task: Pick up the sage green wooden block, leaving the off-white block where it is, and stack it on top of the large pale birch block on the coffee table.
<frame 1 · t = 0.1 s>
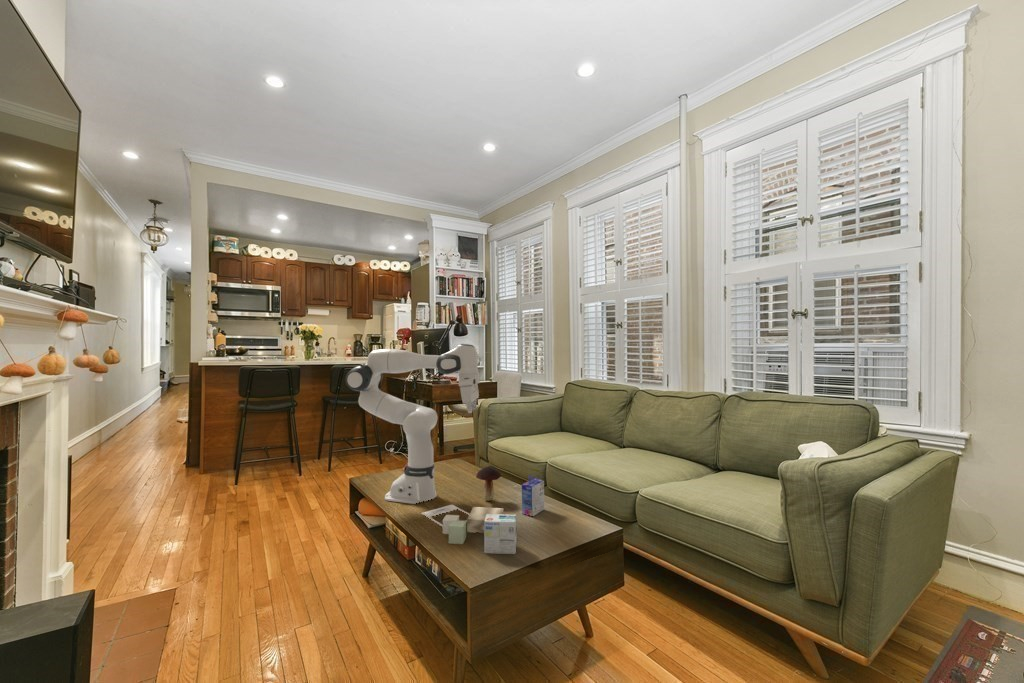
hand: (472, 411, 192), 39 cm above the table, tool pointing down, fingers open, 8 cm apart
light bulb box: (500, 550, 145), on the table
sage block: (457, 540, 151), on the table
ink cartridge box: (533, 512, 178), on the table
decorative mushroom: (488, 501, 190), on the table
off-white block: (450, 531, 159), on the table
birch block: (485, 526, 164), on the table
photo frame: (448, 518, 172), on the table
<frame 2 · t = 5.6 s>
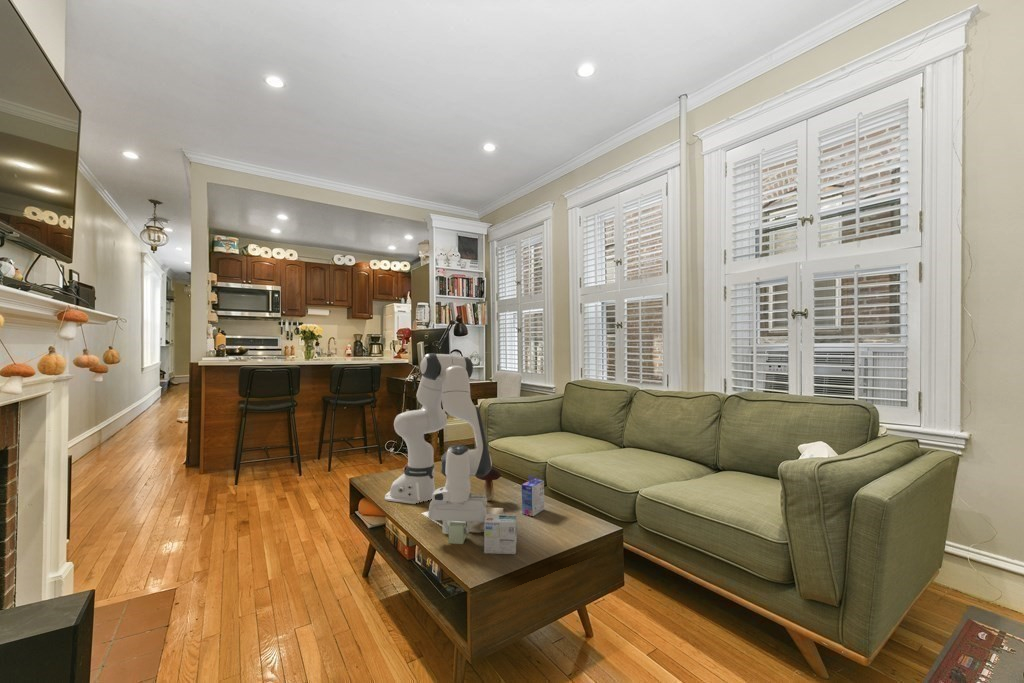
hand: (457, 532, 151), 3 cm above the table, tool pointing down, fingers closed on sage block, 5 cm apart
sage block: (457, 540, 151), on the table, touching gripper
everything else where it was.
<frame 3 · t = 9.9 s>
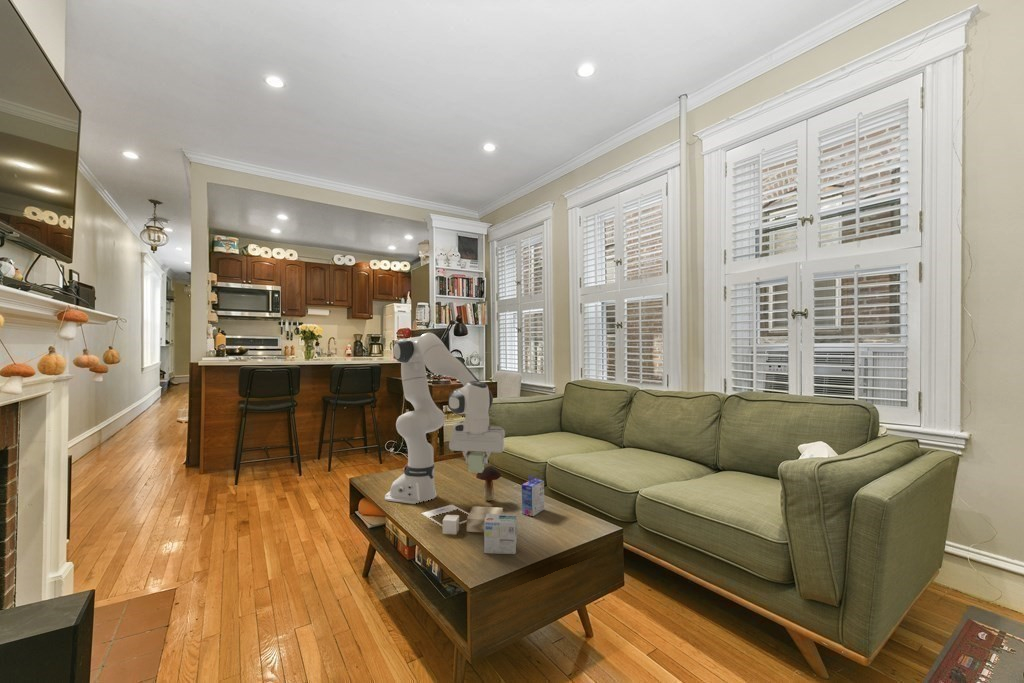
hand: (476, 463, 159), 25 cm above the table, tool pointing down, fingers closed on sage block, 5 cm apart
sage block: (476, 470, 159), point 22 cm above the table, touching gripper
everything else where it was.
when the fingers open (9 cm above the table, at t = 14.3 s): sage block drops 2 cm, resting on birch block.
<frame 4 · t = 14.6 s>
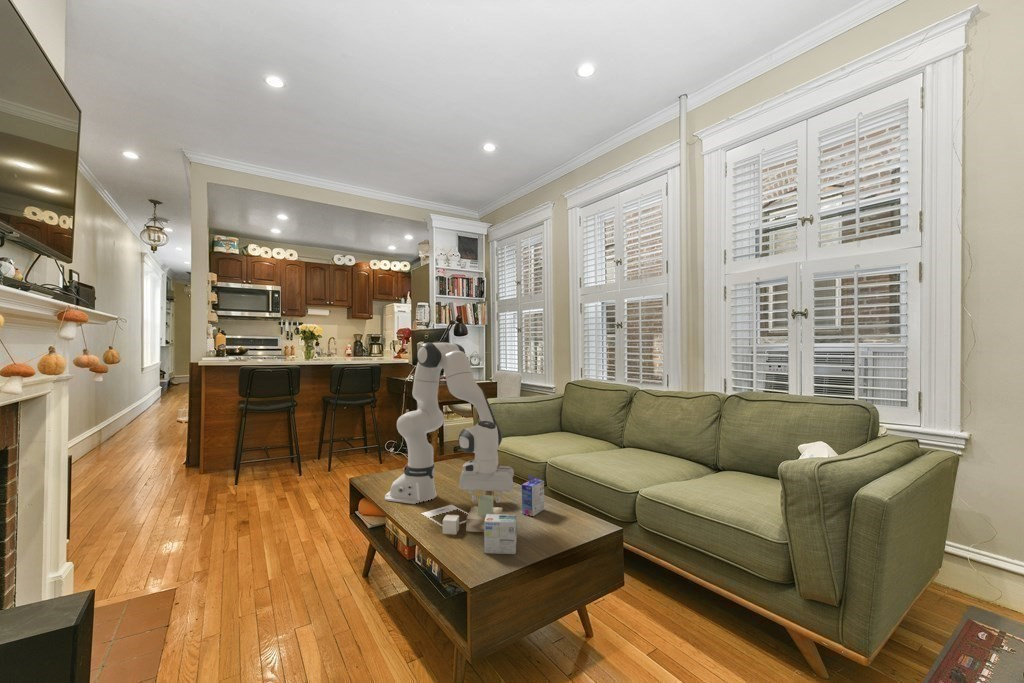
hand: (486, 501, 164), 9 cm above the table, tool pointing down, fingers open, 8 cm apart
sage block: (485, 513, 164), point 5 cm above the table, touching birch block
birch block: (484, 526, 164), on the table, touching sage block
everything else where it was.
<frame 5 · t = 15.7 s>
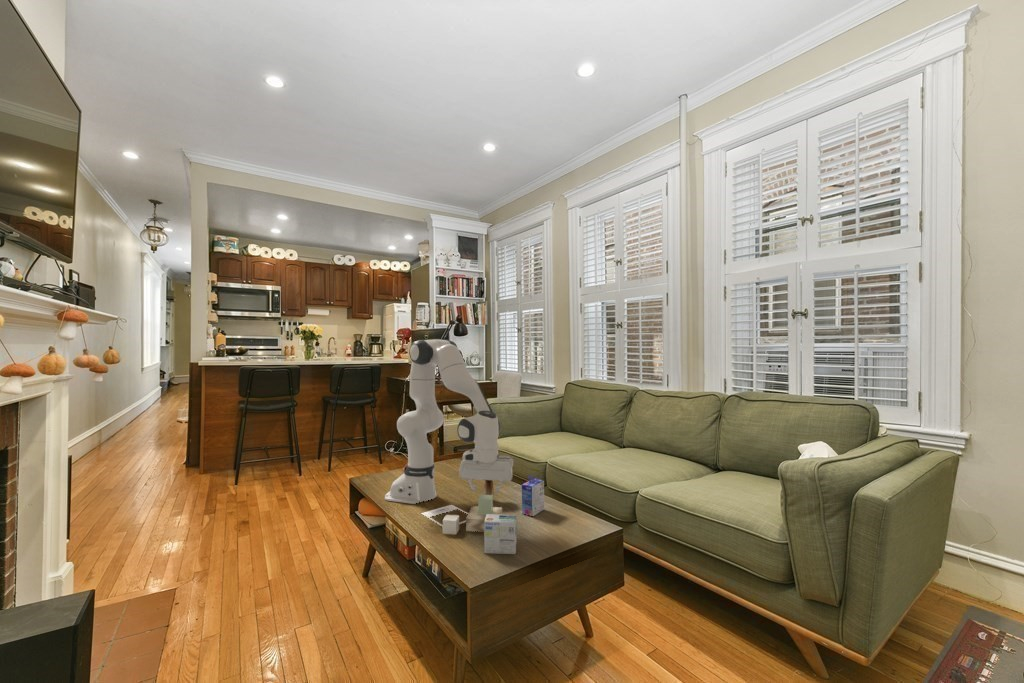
hand: (485, 491, 164), 13 cm above the table, tool pointing down, fingers open, 8 cm apart
sage block: (485, 513, 164), point 5 cm above the table
birch block: (484, 525, 164), on the table
everything else where it was.
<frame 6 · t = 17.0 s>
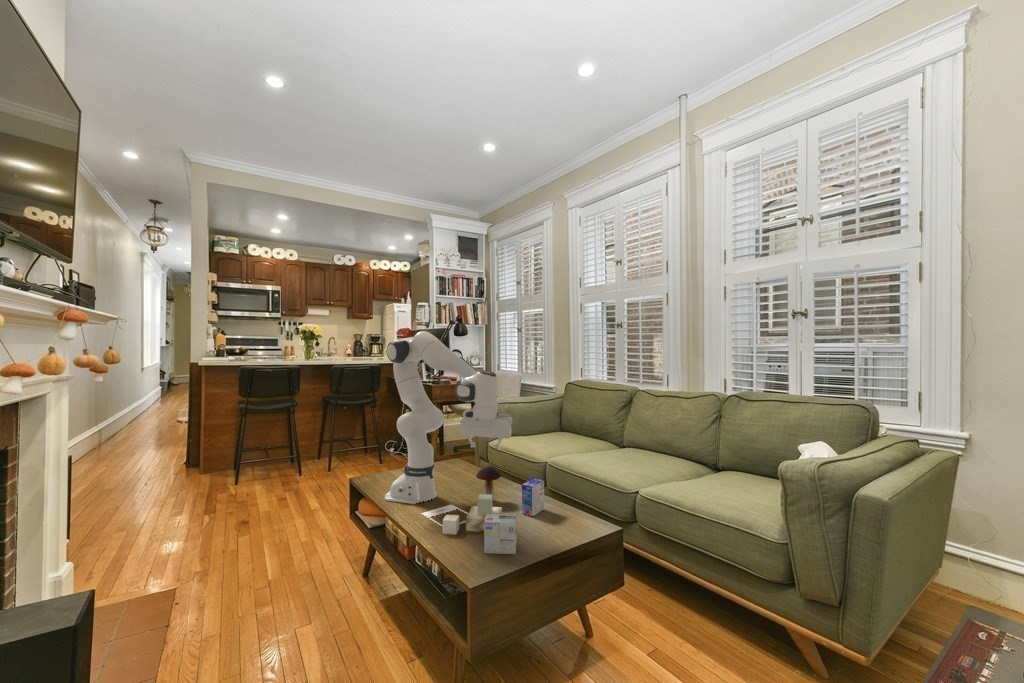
hand: (484, 448, 168), 28 cm above the table, tool pointing down, fingers open, 8 cm apart
sage block: (484, 512, 165), point 5 cm above the table, touching birch block
birch block: (484, 525, 165), on the table, touching photo frame, sage block
photo frame: (448, 518, 172), on the table, touching birch block
everything else where it was.
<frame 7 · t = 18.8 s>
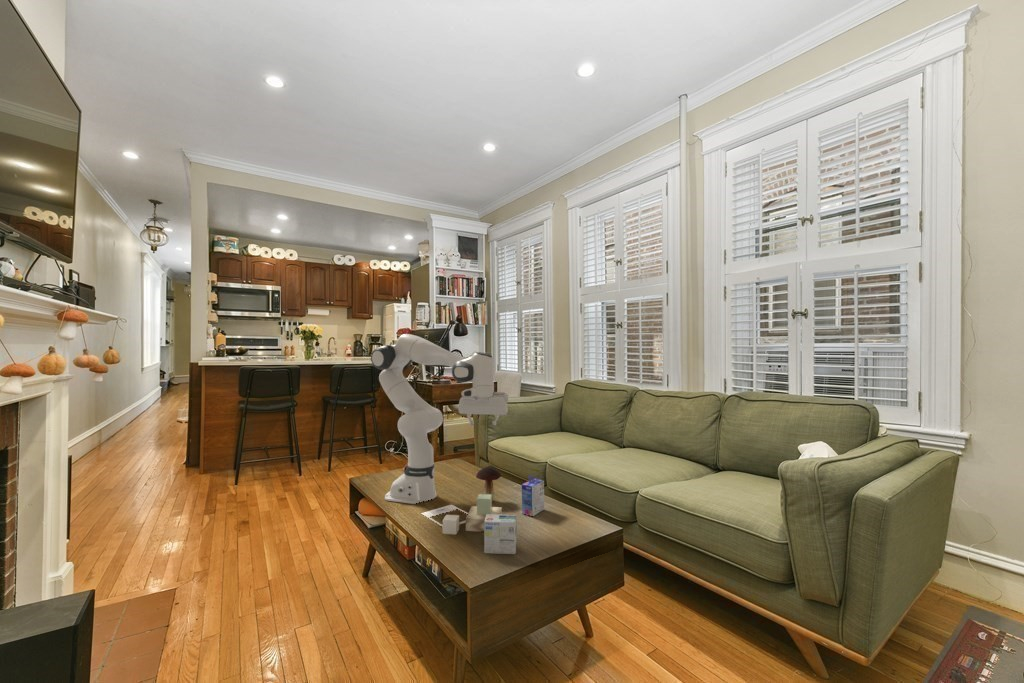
hand: (482, 425, 179), 35 cm above the table, tool pointing down, fingers open, 8 cm apart
sage block: (484, 512, 165), point 5 cm above the table
birch block: (484, 525, 165), on the table, touching photo frame
everything else where it was.
at the end: sage block inside the target area on the birch block (0.2 cm from its centre), point 5.0 cm above the birch block's base; sage block tilted 0°; the gripper is holding nothing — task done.
